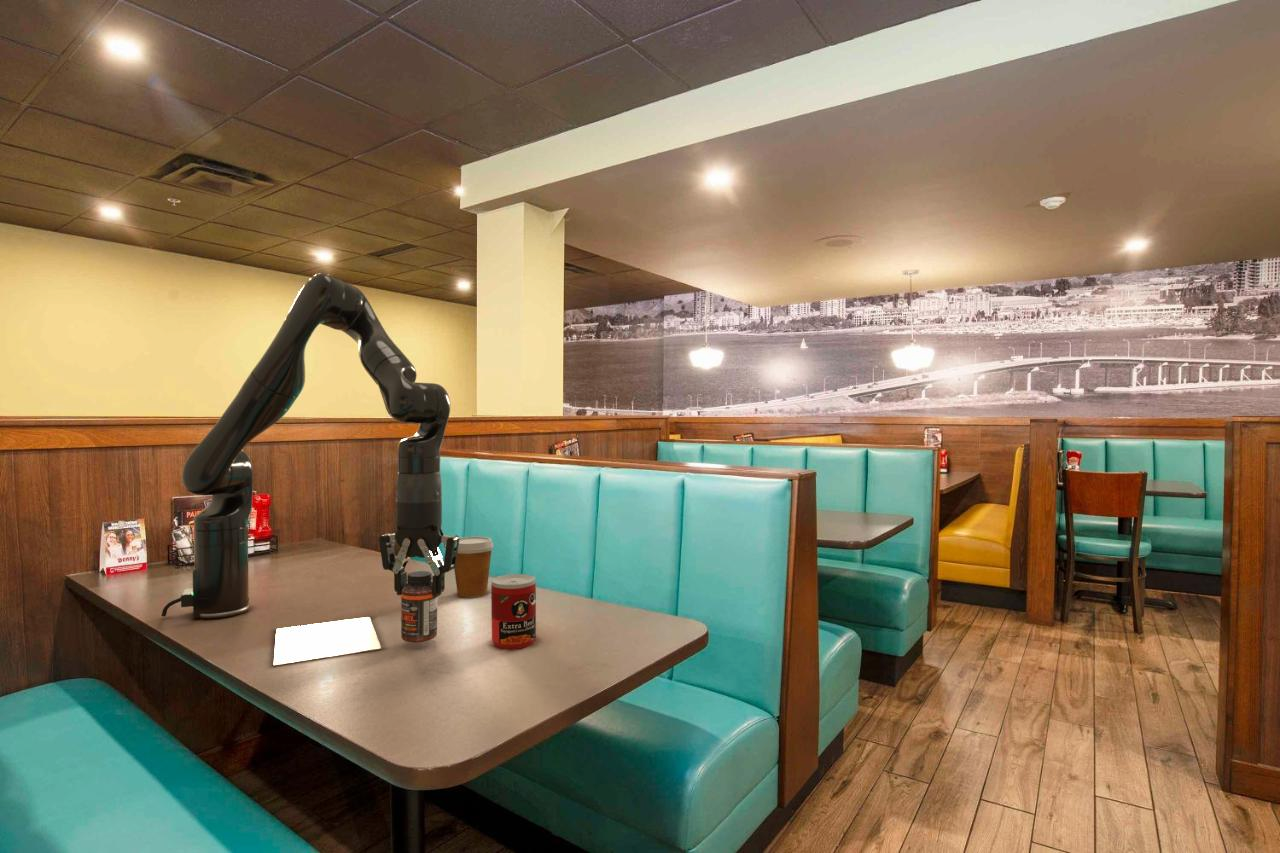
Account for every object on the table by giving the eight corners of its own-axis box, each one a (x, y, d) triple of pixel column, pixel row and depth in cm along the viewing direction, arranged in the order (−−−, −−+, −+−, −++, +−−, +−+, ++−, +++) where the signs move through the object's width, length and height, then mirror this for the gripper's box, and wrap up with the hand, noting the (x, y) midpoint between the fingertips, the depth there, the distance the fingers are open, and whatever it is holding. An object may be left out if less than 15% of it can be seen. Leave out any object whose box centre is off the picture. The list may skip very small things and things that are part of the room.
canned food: (498, 652, 111) (498, 587, 110) (486, 638, 118) (485, 576, 118) (542, 645, 114) (542, 581, 114) (528, 631, 121) (527, 571, 121)
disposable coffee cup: (482, 600, 142) (482, 544, 142) (442, 598, 144) (441, 543, 144) (501, 589, 151) (500, 537, 151) (462, 587, 153) (461, 535, 153)
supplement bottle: (393, 641, 113) (393, 575, 113) (417, 630, 119) (417, 567, 119) (421, 645, 111) (421, 578, 111) (444, 635, 117) (444, 570, 116)
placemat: (273, 666, 105) (273, 664, 105) (276, 630, 123) (276, 629, 123) (381, 649, 112) (381, 648, 112) (369, 617, 130) (369, 616, 130)
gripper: (467, 496, 117) (467, 591, 118) (391, 494, 119) (391, 587, 120) (449, 502, 110) (449, 603, 110) (368, 499, 112) (368, 599, 112)
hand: (419, 594), depth 115 cm, fingers closed on supplement bottle, 6 cm apart
